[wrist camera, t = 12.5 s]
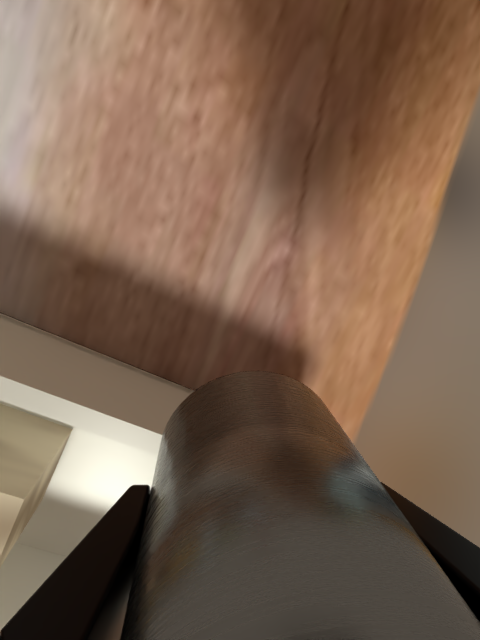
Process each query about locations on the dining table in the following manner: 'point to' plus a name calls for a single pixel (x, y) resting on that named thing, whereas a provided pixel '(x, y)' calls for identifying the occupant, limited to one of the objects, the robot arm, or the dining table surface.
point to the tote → (77, 443)
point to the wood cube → (25, 469)
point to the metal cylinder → (279, 530)
